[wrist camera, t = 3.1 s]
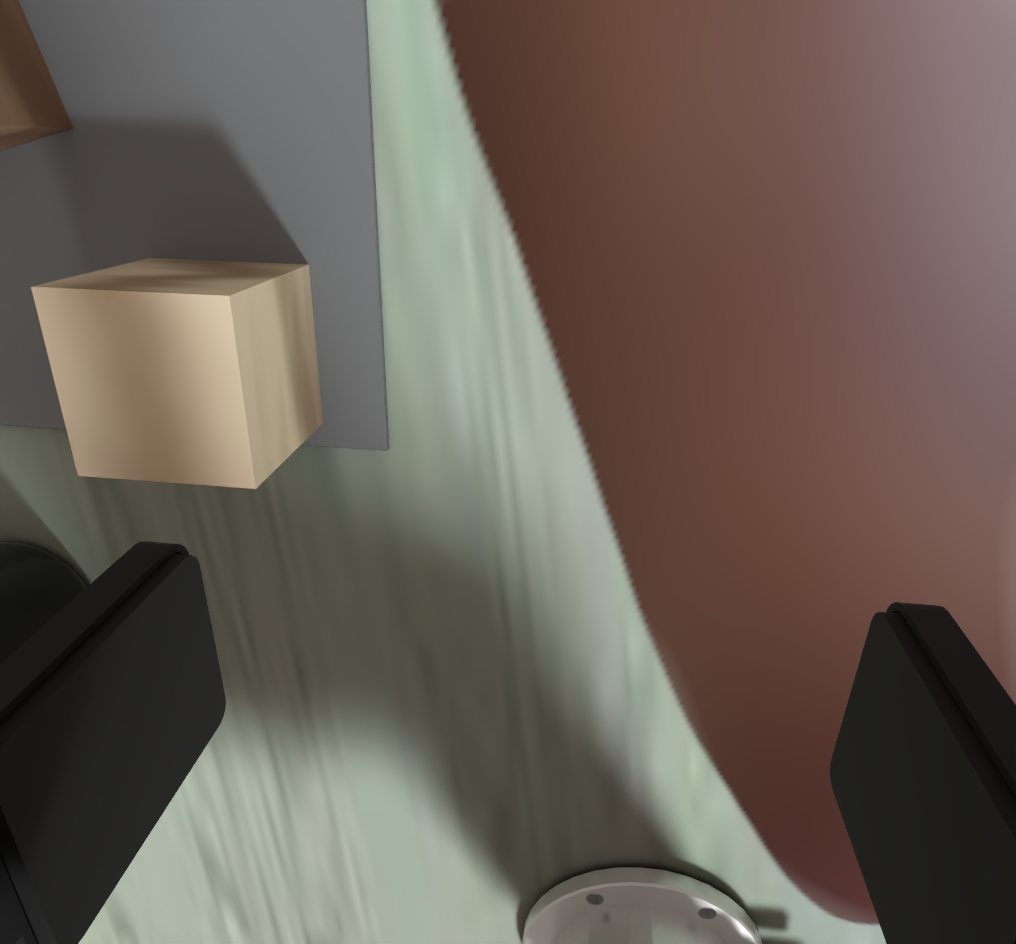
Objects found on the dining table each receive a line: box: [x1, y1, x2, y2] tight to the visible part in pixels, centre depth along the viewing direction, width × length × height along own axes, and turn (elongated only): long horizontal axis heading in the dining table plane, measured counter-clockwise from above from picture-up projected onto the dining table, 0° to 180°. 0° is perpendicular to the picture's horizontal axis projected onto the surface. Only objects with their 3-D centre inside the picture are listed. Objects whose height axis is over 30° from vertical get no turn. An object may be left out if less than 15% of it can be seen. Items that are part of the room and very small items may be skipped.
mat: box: [0, 0, 389, 451], centre depth 26 cm, size 24×16×1 cm, turn 89°
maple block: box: [31, 258, 323, 489], centre depth 24 cm, size 6×6×6 cm
